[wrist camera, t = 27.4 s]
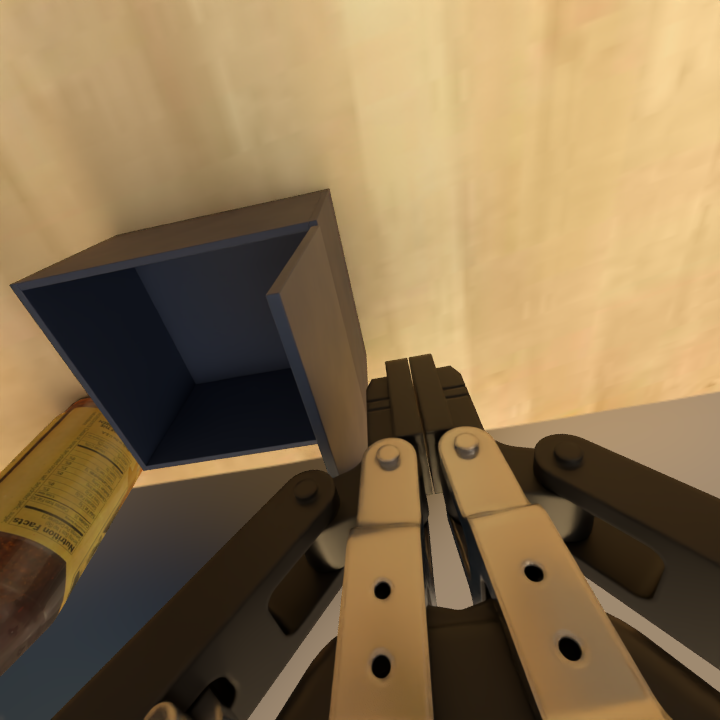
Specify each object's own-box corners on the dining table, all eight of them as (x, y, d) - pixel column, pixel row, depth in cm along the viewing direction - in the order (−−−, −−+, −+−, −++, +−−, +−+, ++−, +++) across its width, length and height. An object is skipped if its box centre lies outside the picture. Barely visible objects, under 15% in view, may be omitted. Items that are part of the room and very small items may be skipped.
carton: (115, 235, 20) (8, 284, 14) (329, 188, 19) (316, 220, 13) (195, 385, 25) (143, 471, 19) (366, 356, 24) (370, 436, 18)
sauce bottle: (102, 463, 29) (-250, 937, 12) (47, 401, 26) (-536, 926, 9) (180, 447, 28) (-81, 930, 11) (133, 380, 25) (-329, 916, 8)
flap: (264, 295, 8) (278, 293, 7) (310, 226, 12) (319, 224, 12) (361, 568, 13) (369, 567, 13) (367, 445, 17) (373, 444, 17)
